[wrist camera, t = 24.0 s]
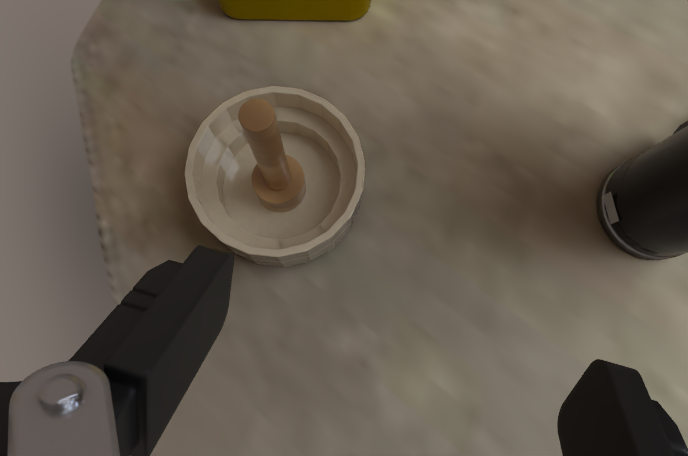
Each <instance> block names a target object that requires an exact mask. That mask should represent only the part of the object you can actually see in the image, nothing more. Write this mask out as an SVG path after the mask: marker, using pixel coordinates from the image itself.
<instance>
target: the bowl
mask: <svg viewBox="0 0 688 456" xmlns="http://www.w3.org/2000/svg"><path fill="white" fill-rule="evenodd" d="M255 98H259V99H263V100H266V101H267V102H269V103H270V104H271V105H272V107H273V109H274V112H275V116H276V120H277V124H278V128H279V132H280V136H281V139H282V143H283V147H284V151H285V154H286V155H289V156H291V157H293V158H294V159H295V160H297V161H298V163H299V164H300V165H301V167H302V169H303V173H304V178H305V183H306V192H305V196H304V198H303V200H302V202H301V203H300V204H299V205H298V206H297V207H296V208H294V209H292V210H290V211H286V212H275V211H272V210H269V209H268V208H266V207H265V206H264V205H263V204H262V203H261V202H260V200H259V198H258V196H257V194H256V192H255V190H254V188H253V186H252V172H253V169H254V167H255V166H256V164H257V162H256V159H255V157H254V155H253V152H252V150H251V148H250V145H249V143H248V141H247V138H246V136H245V134H244V131H243V129H242V127H241V124H240V122H239V119H238V113H239V109H240V108H241V106H242V105H243V104H244V103H245V102H246V101H248V100H250V99H255ZM364 174H365V160H364V156H363V152H362V147H361V143H360V139H359V137H358V135H357V134H356V132H355V131H354V129H353V127H352V126H351V124H350V123H349V121H348V119H347V118H346V116H345V115H344V114H342V113H341V112H340V111H339V110H338V109H336V108H335V107H334V106H333V105H332V104H330V103H329V102H328V101H327V100H326V99H324V98H321V97H319V96H317V95H314V94H312V93H309V92H307V91H305V90H302V89H299V88H289V87H280V86H270V87H264V88H259V89H253V90H248V91H245V92H243V93H241V94H239V95H237V96H235V97H233V98H231V99H229V100H227V101H225V102H223V103H222V104H221V105H220V106H218V107H217V108H216V109H215V110H214V111H213V112H212V113H211V114H210V115H209V116H208V117H207V118H206V119H205V120H204V121H203V122H202V123H201V125H200V127H199V129H198V131H197V133H196V134H195V136H194V138H193V140H192V142H191V144H190V146H189V150H188V155H187V161H186V166H185V180H186V186H187V193H188V199H189V201H190V203H191V205H192V207H193V208H194V210H195V212H196V214H197V216H198V218H199V220H200V222H201V223H202V224H203V225H204V226H205V227H206V228H207V229H208V230H209V231H210V232H211V233H212V234H214V235H215V236H216V237H217V238H218V239H219V240H220V241H221V242H222V243H223V244H224V245H226V246H227V247H228V248H229V249H230V250H231V251H232V252H233V253H235V254H237V255H239V256H241V257H243V258H246V259H248V260H250V261H252V262H255V263H257V264H261V265H271V266H280V267H286V266H291V265H296V264H300V263H305V262H309V261H312V260H313V259H315V258H317V257H319V256H320V255H322V254H324V253H326V252H327V251H329V250H331V249H332V248H333V247H334V246H335V245H336V244H337V243H338V242H339V241H340V240H341V239H342V238H343V236H344V235H345V234H346V233H347V232H348V231H349V230H350V228H351V226H352V223H353V221H354V219H355V217H356V214H357V212H358V210H359V207H360V203H361V197H362V192H363V184H364Z"/></svg>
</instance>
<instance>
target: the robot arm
mask: <svg viewBox="0 0 688 456" xmlns="http://www.w3.org/2000/svg"><path fill="white" fill-rule="evenodd" d="M597 208H598V214H599V218H600V221H601V223H602V226H603V228H604V229H605V231H606V233H607V234H608V236H609V237H610V238H611V239H612V240H613V241H614V242H615V243H616V244H617V245H618V246H619V247H620V248H622V249H623V250H624V251H626V252H628V253H630V254H632V255H634V256H636V257H639V258H643V259H648V260H663V259H668V258H672V257H676V256H679V255H682V254H684V253H687V252H688V121H687V122H685V123H683V124H682V125H680V126H679V127H678V128H677V130H676V131H675V132H674V133H673V135H672V136H670V137H668V138H667V139H665V140H663V141H662V142H660V143H658V144H657V145H655V146H653V147H652V148H650V149H648V150H647V151H645V152H643V153H641V154H640V155H638V156H636V157H635V158H633V159H631V160H629V161H626V162H625V163H623V164H621V165H620V166H618V167H616V168H615V169H614V170H612V171H611V172H610V173H609V174H608V175H607V176H606V178H605V179H604V181H603V182H602V184H601V187H600V189H599V193H598V199H597ZM233 264H234V255H233V254H232V253H230V252H226V251H223V250H219V249H216V248H212V247H209V246H205V245H202V244H200V245H198V246H197V247H196V248H195V249H194V250H193V252H192V253H191V254H190V255H189V257H188V258H187V259H186V260H185V262H184V263H183V264H182V263H179V262H175V261H172V260H168V261H166V262H164V263H162V264H160V265H158V266H156V267H154V268H153V269H151V270H149V271H147V272H146V274H145V275H144V276H143V277H142V278H141V279H140V280H139V282H138V283H137V284H136V285H135V286H134V287H133V290H132V291H130V292H129V293H128V294H127V295H126V296H125V297H124V299H123V300H122V301H121V304H120V305H119V304H118V305H117V307H116V308H115V309H114V310H113V311H112V312H111V313H110V315H109V316H108V317H107V318H106V319H105V320H104V321H103V323H102V324H101V325H100V326H99V327H98V328H97V329H96V331H95V332H94V333H93V334H92V335H91V336H90V337H89V338H88V340H87V341H86V342H85V343H84V344H83V345H82V346H81V348H80V349H79V350H78V351H77V352H76V353H75V355H74V356H73V357H72V358H71V359H70V360H69V361H66V362H60V363H55V364H51V365H49V366H46V367H43V368H41V369H39V370H37V371H35V372H34V373H32V374H31V375H29V376H28V377H27V378H25V379H24V380H23V381H19V382H0V456H150V454H151V453H152V451H153V449H154V447H155V446H156V444H157V442H158V440H159V439H160V437H161V435H162V433H163V432H164V430H165V428H166V426H167V424H168V423H169V421H170V419H171V417H172V416H173V414H174V412H175V410H176V409H177V407H178V405H179V403H180V402H181V400H182V398H183V396H184V394H185V393H186V391H187V389H188V387H189V386H190V384H191V382H192V380H193V379H194V377H195V375H196V373H197V372H198V370H199V368H200V366H201V364H202V363H203V361H204V359H205V357H206V356H207V354H208V352H209V350H210V349H211V347H212V345H213V343H214V342H215V340H216V338H217V336H218V335H219V333H220V331H221V329H222V326H223V324H224V321H225V318H226V315H227V311H228V307H229V299H230V290H231V281H232V273H233ZM558 435H559V440H560V445H561V449H562V454H563V456H688V448H687V446H686V444H685V442H684V440H683V437H682V435H681V433H680V431H679V429H678V426H677V425H676V424H675V422H674V421H673V420H672V419H671V417H670V416H669V415H668V414H667V413H666V411H665V410H664V409H663V408H662V406H661V405H660V404H659V403H658V402H657V401H654V400H651V398H650V396H649V394H648V391H647V389H646V387H645V384H644V382H643V380H642V377H641V375H640V374H639V372H638V371H636V370H635V369H632V368H628V367H625V366H621V365H618V364H614V363H611V362H607V361H604V360H600V359H597V360H595V361H593V362H592V363H591V364H590V365H589V367H588V368H587V370H586V371H585V372H584V374H583V375H582V377H581V378H580V380H579V381H578V382H577V384H576V385H575V387H574V388H573V390H572V391H571V393H570V394H569V395H568V397H567V398H566V400H565V401H564V403H563V404H562V406H561V409H560V412H559V416H558Z"/></svg>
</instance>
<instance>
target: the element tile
mask: <svg viewBox="0 0 688 456" xmlns="http://www.w3.org/2000/svg"><path fill="white" fill-rule="evenodd" d="M218 1H219V4H220V6H221V9H222V11H223V12H224V13H226V14H227V15H228V16H230V17H232V18H235V19H256V20H337V21H351V20H356V19H358V18H361V17H362V16H364V15H365V14H366V13H367V11H368V9H369V7H370V3H371V0H218Z"/></svg>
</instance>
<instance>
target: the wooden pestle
mask: <svg viewBox="0 0 688 456" xmlns="http://www.w3.org/2000/svg"><path fill="white" fill-rule="evenodd" d="M238 119H239V122H240V124H241V127H242V129H243V131H244V134H245V136H246V138H247V141H248V143H249V145H250V148H251V150H252V152H253V155H254V157H255V159H256V162H257V164H256V166H255V167H254V169H253V172H252V186H253V188H254V190H255V192H256V194H257V196H258V198H259V200H260V202H261V203H262V204H263V205H264V206H265V207H266V208H268V209H269V210H272V211H275V212H286V211H290V210H292V209H294V208H296V207H297V206H298V205H299V204H300V203H301V202H302V200H303V198H304V196H305V192H306V183H305V178H304V173H303V169H302V167H301V165H300V164H299V163H298V161H297V160H295V159H294V158H293V157H291V156H289V155H286V154H285V151H284V147H283V143H282V139H281V136H280V132H279V128H278V124H277V120H276V116H275V112H274V109H273V107H272V105H271V104H270V103H269V102H267V101H266V100H263V99H259V98H255V99H250V100H248V101H246V102H245V103H244V104H243V105H242V106H241V108H240V109H239V113H238Z"/></svg>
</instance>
